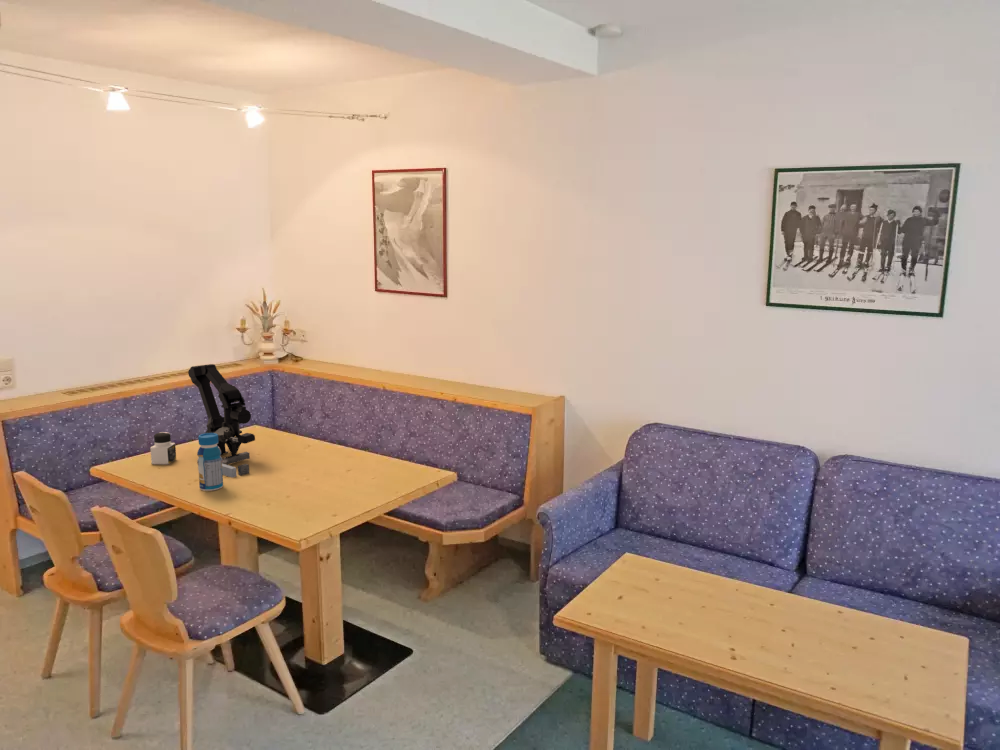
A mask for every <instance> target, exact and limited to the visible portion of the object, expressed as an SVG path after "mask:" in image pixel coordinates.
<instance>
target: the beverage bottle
mask: <svg viewBox="0 0 1000 750" xmlns="http://www.w3.org/2000/svg"><path fill="white" fill-rule="evenodd" d="M197 440H198V445H199V448H198V450H197V453H196V454H197V461H196V462H197V463H196V464H197V466H198V467H197V471H198V481H199V482H198V483H199V489H200V490H201V491H203V492H213V491H218V490H221V489H222V488H223V487H224V482H223V481H224V480H223V479H224V477H223V476H224V475H222V458H223V457H222V455H221V450H220V448H219V446H218V445H217V444H218V434H216V433H206V432H204V433H200V434H199V435H198V439H197Z"/></svg>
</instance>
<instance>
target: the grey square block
mask: <svg viewBox="0 0 1000 750" xmlns="http://www.w3.org/2000/svg"><path fill="white" fill-rule="evenodd" d="M248 474H250V466H249V464H248V463H243V464H240V465H237V475H239V476H245V475H248Z"/></svg>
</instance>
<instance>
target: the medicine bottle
mask: <svg viewBox="0 0 1000 750" xmlns="http://www.w3.org/2000/svg"><path fill="white" fill-rule="evenodd" d="M153 438H154V445H152V446H150V458H151V459H150V461H151V464H152V465H170V464H171V463H173V462H174V461H176V460H177V451H176V443H175V442H172V440H171V439H172V437H171V433H170V432H168V431H167V432H166V431H165V432H164V431H160V432H157V433H155V434H154V435H153Z"/></svg>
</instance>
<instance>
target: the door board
mask: <svg viewBox="0 0 1000 750" xmlns="http://www.w3.org/2000/svg"><path fill="white" fill-rule="evenodd" d="M229 465H230V464H229ZM229 465H226V464H222V475H223V476H226V477H229V478H235V477H237V475H238V474H237V467H235V466H234V467H232V466H233V465H232V466H229Z"/></svg>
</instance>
